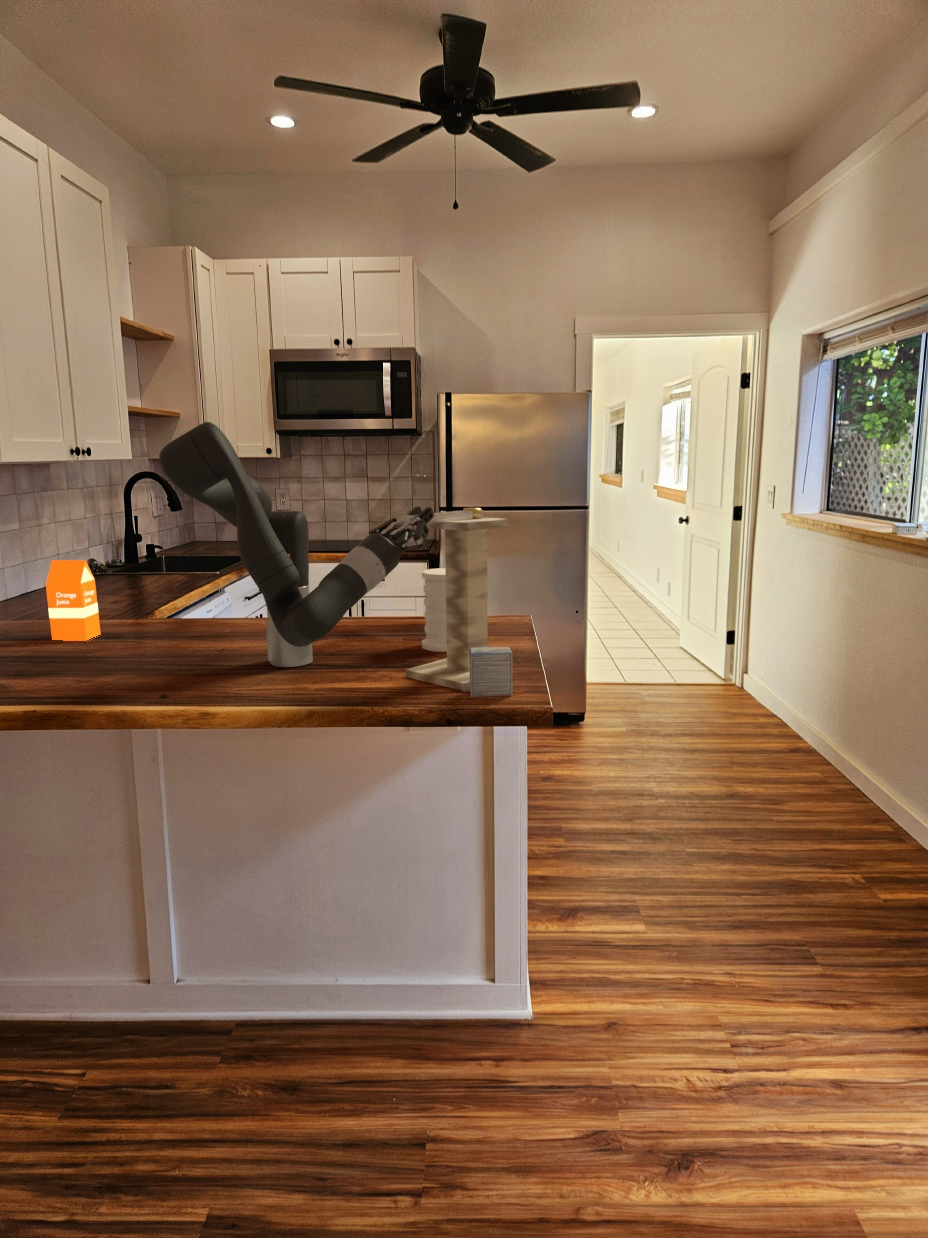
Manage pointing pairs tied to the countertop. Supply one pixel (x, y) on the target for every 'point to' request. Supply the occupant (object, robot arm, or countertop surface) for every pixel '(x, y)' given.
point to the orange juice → (72, 601)
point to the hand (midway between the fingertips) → (425, 510)
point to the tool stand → (462, 600)
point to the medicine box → (490, 671)
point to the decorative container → (435, 610)
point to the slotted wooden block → (448, 516)
